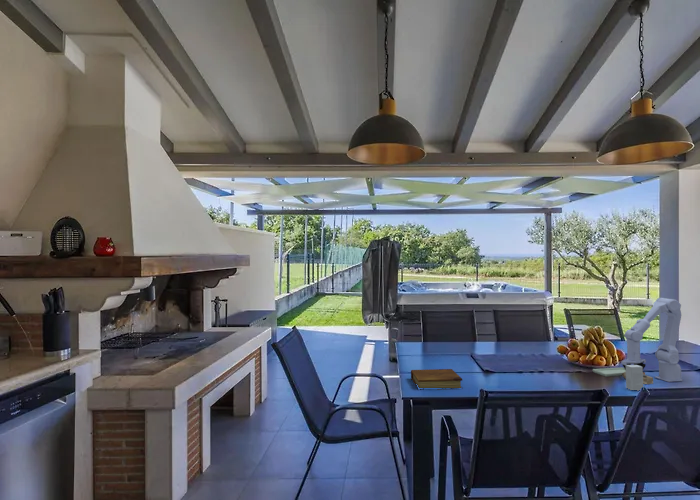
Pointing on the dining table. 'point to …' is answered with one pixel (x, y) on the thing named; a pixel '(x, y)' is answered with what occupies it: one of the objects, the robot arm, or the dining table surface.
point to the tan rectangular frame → (645, 380)
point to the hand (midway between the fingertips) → (634, 377)
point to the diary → (436, 378)
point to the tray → (610, 371)
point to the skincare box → (634, 377)
